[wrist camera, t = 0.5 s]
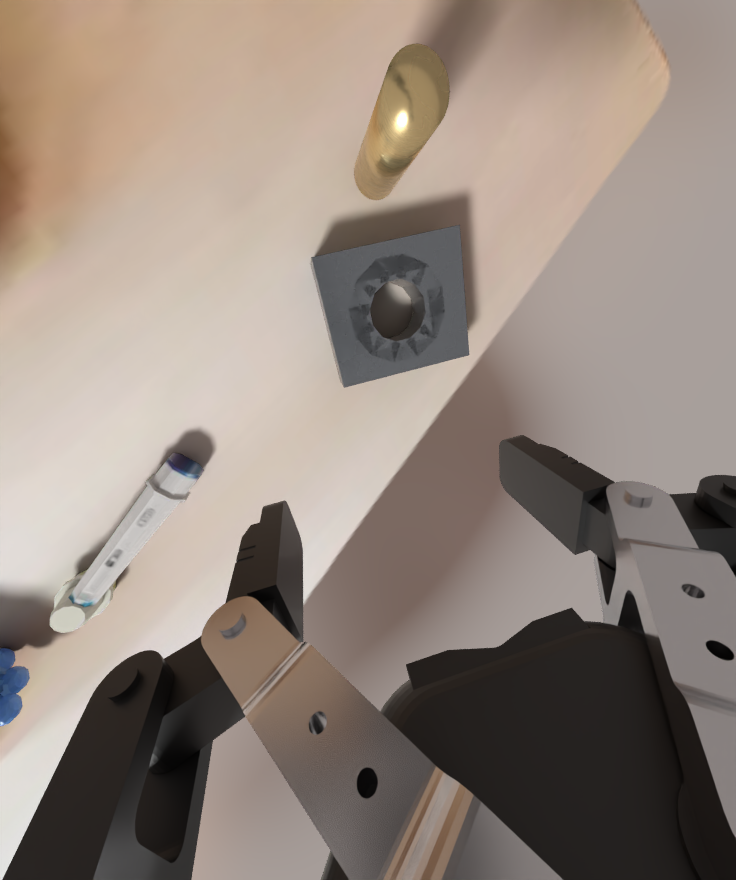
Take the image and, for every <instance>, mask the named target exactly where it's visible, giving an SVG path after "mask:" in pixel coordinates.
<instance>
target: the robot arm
mask: <svg viewBox="0 0 736 880" xmlns="http://www.w3.org/2000/svg"><path fill="white" fill-rule="evenodd" d="M499 461H500V462H499V463H500V481H501V484H502V486H503V488H504V489H505V491H506V492H507V493H508V494H509V495H511V496H512V497H513V498H514V499H515V500H516V501H517V502H518V503H519V504H520V505H521V506H522V507H523V508H525V509H526V510H527V511H528V512H529V513H530V514H531V515H532V516H533V517H534V518H536V520H538V521H539V522H540V523H541V524H542V525H543V526H544V527H545V528H546V529H547V530H549V531H550V532H551V533H552V534H553V535H554V536H555V537H556V538H557V539H558V540H559V541H561V543H563V544H564V545H565V546H566V547H567V548H568V549H569V550H570V551H571V552H572V553H573V554H575V555H576V554H579V553H582V552H585V551H588V550H591V551H593V552H594V553H595V557H594V566H595V571H596V577H597V583H598V589H599V595H600V600H601V606H602V612H603V623H601V622H588V621H585V622H584V621H583V620H582V619H581V618H580V617H579V615H578V614H577V613H576V612H575V611H574V610H573V609H572V608H570V609H567V610H564V611H561V612H558V613H555V614H552V615H549V616H546V617H544V618H541V619H538V620H535V621H532V622H531V623H530V624H528V625H527V626H526V627H524V628H523V629H522V630H521V631H519V632H518V633H517V634H515V635H514V636H513V637H511V638H510V639H509V640H507V641H506V642H505V643H504V644H502V645H501V646H499V647H496V648H481V649H460V650H447V651H444V652H441V653H439V654H436V655H432V656H430V657H427V658H424V659H421V660H418V661H415V662H412V663H409V664H406V667H407V671H408V675H409V679H410V680H408V681H407V682H406V683H404V684H403V685H402V686H401V687H400V688H399V689H398V690H397V691H395V692H394V693H393V694H392V696H391V697H390V698H389V700H388V701H387V702H386V703H385V705H384V706H383V708H382V710H381V711H379V710H378V709H377V708H376V707H375V706H374V705H373V704H371V702H369V701H368V700H367V699H366V698H365V697H364V696H363V695H362V694H361V693H360V692H359V691H358V690H357V689H356V688H355V687H354V686H353V685H352V684H351V683H350V682H349V681H348V680H347V679H346V678H345V677H344V676H343V675H342V674H341V673H340V672H339V671H338V670H336V669H335V668H334V667H333V666H332V665H331V664H330V663H329V662H328V661H327V660H326V659H325V658H324V657H323V656H322V655H321V654H320V653H319V652H318V651H317V650H316V649H315V648H314V647H312V646H311V645H310V644H309V643H307V642H304V644H301V642H303V549H302V543H301V538H300V535H299V532H298V529H297V527H296V524H295V522H294V519H293V517H292V514H291V511H290V509H289V506H288V504H287V502H286V501H281V502H278V503H274V504H271V505H267V506H264V507H263V509H262V514H261V520H260V523H257V524H254V525H251V526H250V527H249V529H248V530H247V531H246V533H245V534H244V536H243V537H242V540H241V544H240V548H239V552H238V555H237V559H236V561H237V563H235V567H234V571H233V575H232V579H231V583H230V587H229V591H228V595H227V599H226V603H225V604H224V605H222V606H221V607H220V608H219V609H218V610H216V611H215V612H214V614H213V615H212V616H211V617H210V618H209V620H208V621H207V623H206V625H205V627H204V629H203V632H202V636H201V637H199V638H198V639H196V640H195V641H193V642H192V643H190V644H188V645H187V646H185V647H183V648H182V649H180V650H178V651H176V652H175V653H173V654H171V655H170V656H168V657H166V658H165V659H163V657H162V656H161V655H160V654H159V653H158V652H156V651H152V650H148V651H143V652H139V653H137V654H135V655H133V656H131V657H129V658H127V659H126V660H124V661H123V662H121V663H120V664H119V665H118V666H116V667H115V668H114V669H113V670H112V671H111V672H110V673H109V674H108V675H107V676H106V677H105V678H104V679H103V680H102V682H101V683H100V684H99V685H98V687H97V688H96V690H95V691H94V693H93V695H92V697H91V698H90V700H89V702H88V704H87V707H86V709H85V711H84V713H83V715H82V717H81V719H80V721H79V723H78V725H77V727H76V729H75V731H74V733H73V735H72V737H71V740H70V742H69V744H68V746H67V748H66V750H65V752H64V754H63V756H62V758H61V760H60V762H59V764H58V766H57V768H56V770H55V772H54V775H53V777H52V779H51V781H50V783H49V785H48V787H47V789H46V791H45V793H44V795H43V797H42V799H41V801H40V803H39V805H38V808H37V810H36V812H35V814H34V816H33V818H32V820H31V822H30V824H29V826H28V828H27V830H26V832H25V834H24V836H23V838H22V840H21V843H20V845H19V847H18V849H17V851H16V853H15V855H14V857H13V859H12V861H11V863H10V865H9V867H8V869H7V871H6V873H5V876H4V878H3V880H191V878H192V871H193V865H194V858H195V852H196V845H197V839H198V833H199V826H200V820H201V813H202V807H203V800H204V794H205V788H206V781H207V775H208V768H209V761H210V756H211V749H212V742H213V740H214V739H215V738H216V737H218V736H219V735H220V734H222V733H223V732H225V731H226V730H227V729H229V728H230V727H231V726H233V725H234V724H236V723H237V722H238V721H240V720H241V719H242V718H244V717H245V716H246V718H247V720H248V721H249V723H250V724H251V726H252V728H253V729H254V731H255V732H256V734H257V735H258V737H259V739H260V740H261V742H262V743H263V745H264V746H265V748H266V749H267V751H268V753H269V754H270V756H271V757H272V759H273V761H274V762H275V764H276V765H277V767H278V768H279V770H280V771H281V773H282V775H283V776H284V778H285V779H286V781H287V782H288V784H289V786H290V787H291V789H292V790H293V792H294V794H295V795H296V797H297V798H298V800H299V802H300V803H301V805H302V806H303V808H304V809H305V811H306V813H307V814H308V816H309V817H310V819H311V820H312V822H313V824H314V825H315V827H316V828H317V830H318V831H319V833H320V835H321V836H322V838H323V839H324V841H325V842H326V844H327V846H328V847H329V849H330V850H331V851H330V854H329V857H328V860H327V863H326V866H325V869H324V872H323V875H322V878H321V880H736V476H728V475H714V476H708V477H705V478H703V479H701V481H700V483H699V486H698V489H697V493H687V494H670V495H669V494H667V493H666V492H664V491H663V490H661V489H659V488H657V487H655V486H652V485H649V484H645V483H640V482H633V481H622V482H616V483H615V482H614V481H612V480H610V479H608V478H607V477H605V476H603V475H601V474H599V473H598V472H596V471H594V470H593V469H591V468H589V467H587V466H585V465H584V464H582V463H578V461H577V460H575V459H573V458H572V457H568V455H566V454H564V453H563V452H561V451H559V450H557V449H556V448H552V447H549V446H546V445H542V444H537V443H536V442H534V441H533V440H531V439H529V438H527V437H526V436H524V435H520V436H516V437H513V438H509V439H506V440H502V441H501V442H500V445H499Z"/></svg>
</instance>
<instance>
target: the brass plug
mask: <svg viewBox="0 0 736 880" xmlns="http://www.w3.org/2000/svg"><path fill="white" fill-rule="evenodd" d="M448 102H449V80H448V75H447V72H446V69H445V66H444V64H443V62H442V61H441V59H440V58H439V56H438V55H437V54H436V53H435V52H434V51H433V50H432V49H431V48H429V47H427V46H425V45H422V44H411V45H408V46H405V47H404V48H402V49H401V50H400V51H399V52H397V53H396V55H395V56H394V57H393V59H392V61H391V62H390V65H389V67H388V70H387V73H386V76H385V79H384V82H383V84H382V87H381V90H380V93H379V96H378V99H377V102H376V105H375V108H374V111H373V114H372V116H371V119H370V122H369V125H368V128H367V131H366V134H365V137H364V140H363V143H362V146H361V148H360V151H359V154H358V157H357V160H356V163H355V168H354V176H355V181H356V184H357V186H358V188H359V190H360V191H361V193H362V194H363V195H364V196H366V197H367V198H369V199H372V200H380V199H383V198H385V197H386V196H387V195H389V193H390V192H391V191H392V189H393V188H394V187H395V185H396V184H397V182H398V181H399V180H400V178H401V177H402V176H403V174H404V173H405V171H406V170H407V169H408V167H409V166H410V164H411V163H412V162H413V160H414V159H415V157H416V156H417V155H418V153H419V152H420V151H421V149H422V148H423V146H424V145H425V144H426V142H427V141H428V139H429V138H430V137H431V135H432V134H433V132H434V131H435V130H436V128H437V127H438V126H439V124H440V123H441V121H442V120H443V118H444V116H445V113H446V110H447V107H448Z"/></svg>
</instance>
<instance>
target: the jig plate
mask: <svg viewBox="0 0 736 880" xmlns="http://www.w3.org/2000/svg"><path fill="white" fill-rule="evenodd" d="M311 268H312V271H313V275H314V279H315V283H316V287H317V291H318V295H319V299H320V303H321V307H322V311H323V315H324V319H325V323H326V327H327V331H328V335H329V338H330V342H331V346H332V350H333V354H334V358H335V362H336V366H337V370H338V374H339V378H340V381H341V383H342V385H343V387H348V386H352V385H356V384H360V383H364V382H368V381H371V380H375V379H379V378H383V377H387V376H391V375H395V374H398V373H402V372H406V371H410V370H414V369H418V368H422V367H425V366H429V365H433V364H437V363H441V362H445V361H448V360H452V359H456V358H460V357H464V356H468V355H469V345H468V332H467V318H466V305H465V291H464V277H463V264H462V250H461V237H460V225H457V226H452V227H448V228H443V229H439V230H434V231H429V232H425V233H420V234H416V235H411V236H407V237H402V238H397V239H393V240H388V241H384V242H379V243H375V244H370V245H365V246H361V247H356V248H352V249H347V250H343V251H338V252H334V253H329V254H324V255H320V256H315V257H311ZM390 282H391V283H393V284H396V285H398V286H401V287H403V288H404V290H405V291H406V292H407V294H408V295H409V296H410V298H411V302H412V309H413V314H412V317H411V320H410V323H409V326H408V327H407V328H406V329H405V330H404V331H403V332H402V333H401V334H400V335H398V336H394V337H390V338H384V337H382V336H381V335H380V333H379V332H378V331H377V330H376V329H375V327H374V326H373V323H372V318H371V313H370V308H371V304H372V301H373V297H374V294H375V293H376V292H377V291H378V290H379V289H380V288H381V287H382V286H383V285H384V284H385V283H390Z"/></svg>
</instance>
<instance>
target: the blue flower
mask: <svg viewBox="0 0 736 880" xmlns="http://www.w3.org/2000/svg"><path fill="white" fill-rule="evenodd" d="M14 662H15V654H14V651H12V650H11V649H7V648H1V649H0V726H3V725H6V724H8V723H10V722H11V721H12V720H13V719H14V718H15V717H16V716H17V715H18V714H19V713H20V711H21V708H22V700H21V697H20V696H19V695H17V694H16V693H18V692H19V691H20V690H21V689H22V688H24V687H25V686H26V685H27V683H28V680H29V678H30V677H29V671H28V669H27V668H25V667H22V666H15V667H12V666H13V664H14ZM11 667H12V668H11Z"/></svg>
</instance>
